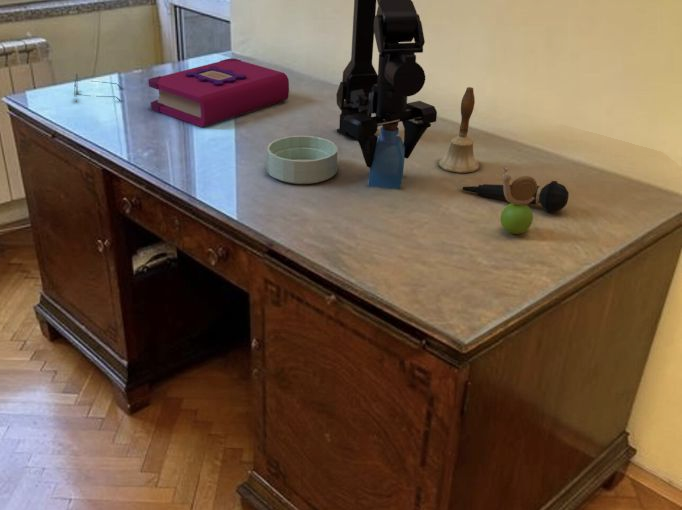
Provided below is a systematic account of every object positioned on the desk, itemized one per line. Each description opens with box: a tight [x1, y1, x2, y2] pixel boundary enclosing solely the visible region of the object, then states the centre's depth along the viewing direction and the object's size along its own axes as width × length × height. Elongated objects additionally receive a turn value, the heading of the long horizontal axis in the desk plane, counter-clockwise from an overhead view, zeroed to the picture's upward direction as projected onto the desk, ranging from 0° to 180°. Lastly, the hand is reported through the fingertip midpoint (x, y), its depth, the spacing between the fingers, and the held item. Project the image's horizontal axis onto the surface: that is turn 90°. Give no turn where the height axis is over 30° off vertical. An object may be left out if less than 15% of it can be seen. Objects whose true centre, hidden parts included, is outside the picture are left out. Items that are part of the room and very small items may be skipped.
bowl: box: [266, 135, 339, 185], centre depth 156 cm, size 14×14×5 cm
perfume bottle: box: [367, 121, 405, 190], centre depth 150 cm, size 6×6×12 cm
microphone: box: [461, 180, 570, 214], centre depth 145 cm, size 6×6×20 cm
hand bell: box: [438, 86, 480, 174], centre depth 156 cm, size 8×8×16 cm
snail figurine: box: [500, 166, 538, 235], centre depth 132 cm, size 5×6×12 cm
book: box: [147, 57, 290, 128], centre depth 190 cm, size 21×28×8 cm
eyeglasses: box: [73, 72, 122, 102], centre depth 196 cm, size 11×13×5 cm
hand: (387, 162), depth 151 cm, fingers closed on perfume bottle, 9 cm apart
